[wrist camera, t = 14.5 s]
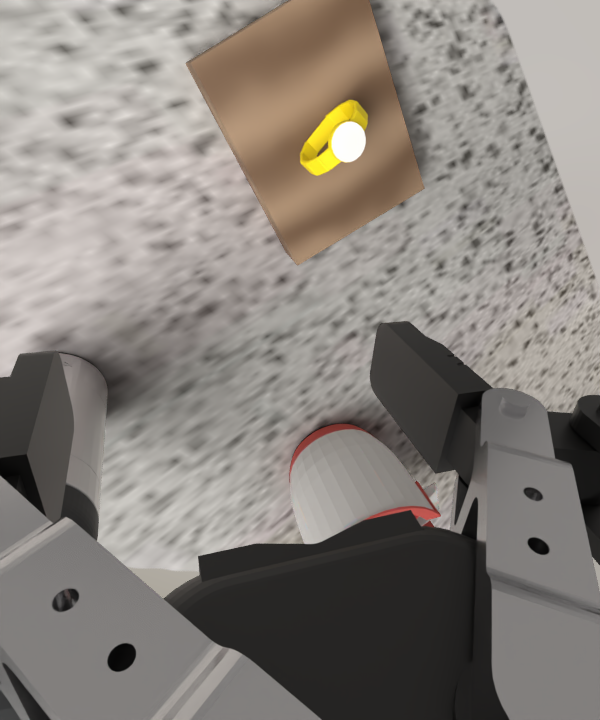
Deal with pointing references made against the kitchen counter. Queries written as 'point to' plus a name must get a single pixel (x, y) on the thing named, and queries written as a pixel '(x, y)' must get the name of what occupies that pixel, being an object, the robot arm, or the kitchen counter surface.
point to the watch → (336, 138)
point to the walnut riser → (310, 118)
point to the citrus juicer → (351, 483)
